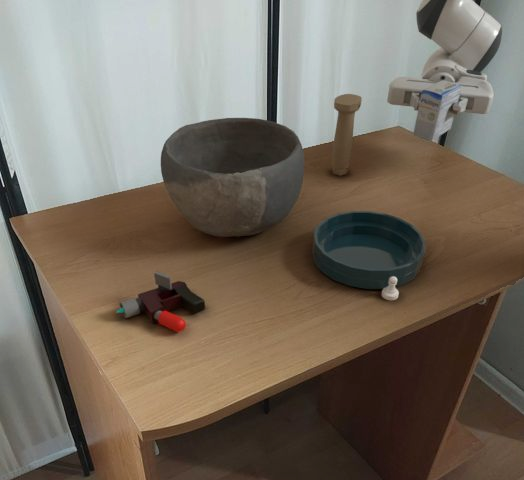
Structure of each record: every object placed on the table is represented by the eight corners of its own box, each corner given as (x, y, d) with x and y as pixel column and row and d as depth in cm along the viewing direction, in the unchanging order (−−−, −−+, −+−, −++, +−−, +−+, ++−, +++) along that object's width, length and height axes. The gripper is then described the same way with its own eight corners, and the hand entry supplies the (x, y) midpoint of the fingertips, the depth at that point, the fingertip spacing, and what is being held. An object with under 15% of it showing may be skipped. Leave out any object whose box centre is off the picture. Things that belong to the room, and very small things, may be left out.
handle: (355, 170, 115) (366, 96, 105) (343, 181, 111) (352, 106, 101) (335, 164, 117) (343, 92, 107) (322, 176, 113) (329, 101, 103)
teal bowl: (423, 240, 95) (429, 219, 93) (416, 300, 83) (422, 279, 80) (323, 224, 99) (325, 204, 96) (301, 280, 86) (303, 259, 83)
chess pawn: (389, 302, 82) (393, 284, 80) (377, 294, 84) (381, 276, 81) (401, 297, 83) (405, 278, 81) (389, 288, 85) (393, 270, 82)
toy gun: (113, 312, 79) (106, 286, 76) (186, 288, 84) (183, 262, 81) (137, 351, 73) (131, 325, 70) (215, 323, 78) (213, 296, 75)
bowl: (173, 265, 88) (162, 179, 78) (163, 196, 106) (154, 118, 95) (316, 251, 92) (324, 167, 82) (284, 186, 109) (288, 110, 99)
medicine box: (431, 124, 110) (441, 79, 104) (451, 130, 108) (463, 84, 102) (412, 135, 106) (421, 89, 100) (432, 141, 104) (443, 94, 98)
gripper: (393, 65, 112) (385, 85, 103) (495, 74, 108) (497, 96, 99) (388, 96, 117) (380, 119, 107) (486, 106, 113) (487, 131, 103)
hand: (437, 108), depth 103 cm, fingers closed on medicine box, 6 cm apart
